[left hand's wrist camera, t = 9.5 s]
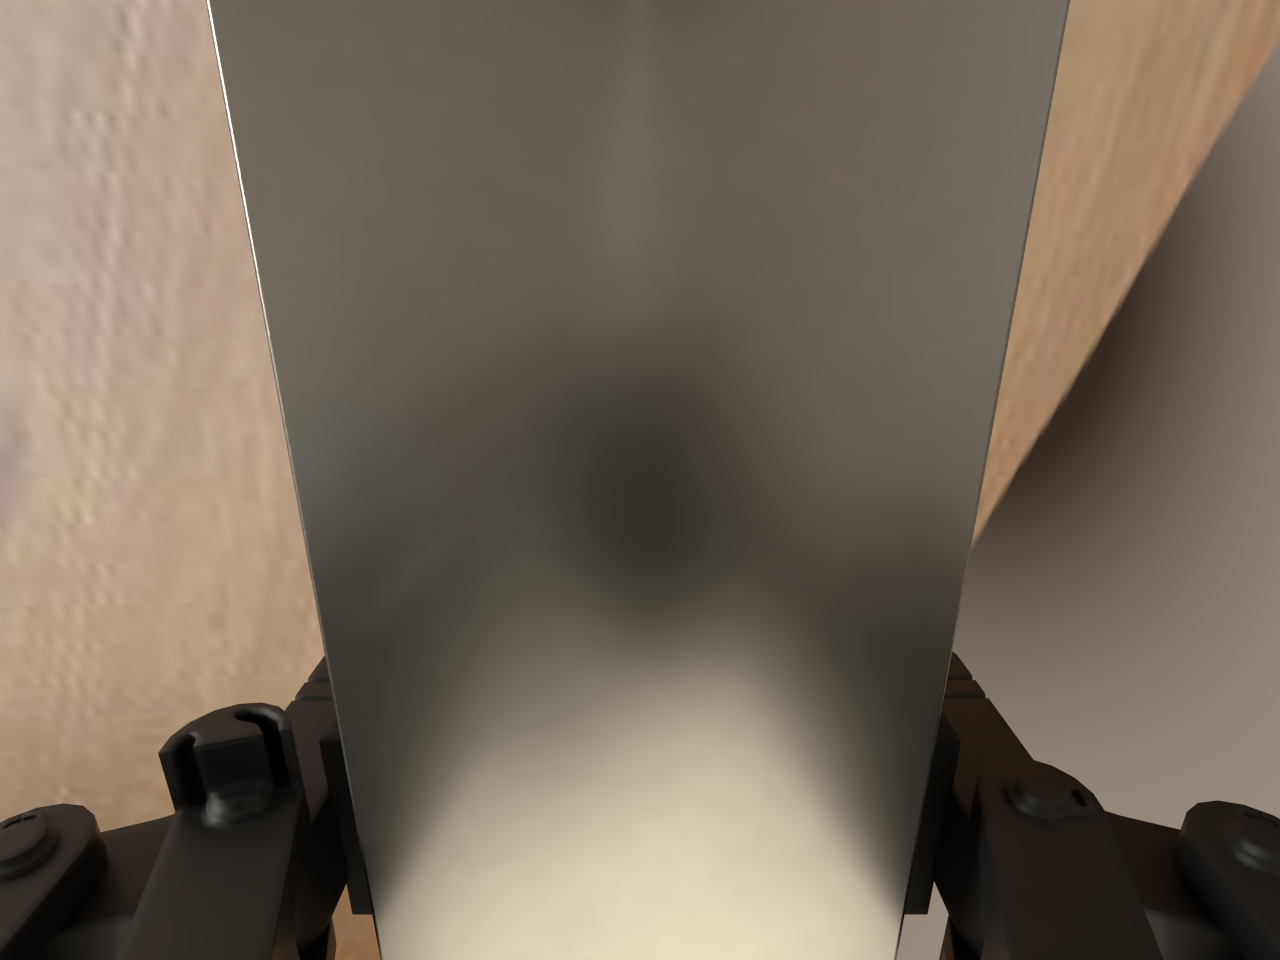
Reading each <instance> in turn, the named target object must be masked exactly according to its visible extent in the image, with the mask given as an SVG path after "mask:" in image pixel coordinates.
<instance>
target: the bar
mask: <svg viewBox="0 0 1280 960" xmlns="http://www.w3.org/2000/svg"><path fill="white" fill-rule="evenodd" d="M206 3H207V9H208V14H209V20H210V25H211V31H212V36H213V42H214V47H215V53H216V58H217V64H218V69H219V75H220V80H221V86H222V91H223V97H224V102H225V108H226V113H227V119H228V124H229V130H230V135H231V141H232V146H233V152H234V157H235V163H236V168H237V174H238V179H239V185H240V190H241V196H242V201H243V207H244V212H245V217H246V223H247V228H248V234H249V239H250V245H251V250H252V256H253V261H254V267H255V272H256V278H257V283H258V289H259V294H260V300H261V305H262V311H263V316H264V322H265V327H266V333H267V338H268V344H269V349H270V355H271V360H272V366H273V371H274V377H275V382H276V388H277V393H278V399H279V404H280V410H281V415H282V421H283V426H284V432H285V437H286V443H287V448H288V454H289V459H290V464H291V470H292V475H293V481H294V486H295V492H296V497H297V503H298V508H299V514H300V519H301V525H302V530H303V536H304V541H305V547H306V552H307V558H308V563H309V569H310V574H311V580H312V585H313V591H314V596H315V602H316V607H317V613H318V618H319V624H320V629H321V635H322V640H323V646H324V651H325V657H326V662H327V668H328V673H329V679H330V684H331V690H332V695H333V701H334V706H335V711H336V717H337V722H338V728H339V733H340V739H341V744H342V750H343V755H344V761H345V766H346V772H347V777H348V783H349V788H350V794H351V799H352V805H353V810H354V816H355V821H356V827H357V832H358V838H359V843H360V849H361V854H362V860H363V865H364V871H365V876H366V882H367V887H368V893H369V898H370V904H371V909H372V915H373V920H374V926H375V931H376V937H377V942H378V948H379V953H380V959H381V960H896V958H897V953H898V947H899V942H900V936H901V930H902V925H903V919H904V914H905V909H906V903H907V898H908V892H909V886H910V881H911V875H912V870H913V864H914V859H915V853H916V848H917V842H918V837H919V831H920V826H921V820H922V815H923V809H924V804H925V798H926V793H927V787H928V782H929V776H930V771H931V765H932V759H933V754H934V748H935V743H936V737H937V732H938V726H939V721H940V715H941V710H942V704H943V699H944V693H945V688H946V682H947V677H948V671H949V666H950V660H951V655H952V649H953V643H954V638H955V632H956V627H957V621H958V616H959V610H960V605H961V599H962V594H963V588H964V583H965V577H966V572H967V566H968V561H969V555H970V550H971V544H972V539H973V533H974V528H975V522H976V517H977V511H978V505H979V500H980V494H981V489H982V483H983V478H984V472H985V467H986V461H987V456H988V450H989V445H990V439H991V434H992V428H993V423H994V417H995V412H996V406H997V401H998V395H999V390H1000V384H1001V378H1002V373H1003V367H1004V362H1005V356H1006V351H1007V345H1008V340H1009V334H1010V329H1011V323H1012V318H1013V312H1014V307H1015V301H1016V296H1017V290H1018V285H1019V279H1020V274H1021V268H1022V263H1023V257H1024V251H1025V246H1026V240H1027V235H1028V229H1029V224H1030V218H1031V213H1032V207H1033V202H1034V196H1035V191H1036V185H1037V180H1038V174H1039V169H1040V163H1041V158H1042V152H1043V147H1044V141H1045V136H1046V130H1047V124H1048V119H1049V113H1050V108H1051V102H1052V97H1053V91H1054V86H1055V80H1056V75H1057V69H1058V64H1059V58H1060V53H1061V47H1062V42H1063V36H1064V31H1065V25H1066V20H1067V14H1068V9H1069V3H1070V0H206Z"/></svg>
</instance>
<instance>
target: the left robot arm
mask: <svg viewBox="0 0 1280 960" xmlns="http://www.w3.org/2000/svg"><path fill="white" fill-rule="evenodd" d="M158 754H159V758H160V761H161V764H162V768H163V771H164V775H165V778H166V781H167V785H168V788H169V791H170V795H171V798H172V802H173V805H174V808H175V814H173V815H170V816H167V817H164V818H160V819H156V820H152V821H148V822H144V823H139V824H135V825H131V826H127V827H123V828H118V829H114V830H110V831H106V832H101V833H100V830H99V827H98V824H97V821H96V819H95V816H94V814H92V813H91V812H90V811H89V810H87V809H86V808H85V807H84V806H79V805H71V804H58V805H52V806H46V807H40V808H36V809H33V810H30V811H27V812H25V813H22V814H19V815H16V816H14V817H11V818H8V819H6V820H4V821H3V822H1V823H0V960H335V952H336V938H335V931H334V925H333V920H332V915H333V912H334V910H335V908H336V906H337V903H338V901H339V899H340V897H341V894H342V892H343V890H344V887H345V885H346V883H347V888H348V893H349V898H350V903H351V908H352V913H353V914H372V909H371V904H370V898H369V893H368V887H367V882H366V876H365V871H364V865H363V860H362V854H361V849H360V843H359V838H358V832H357V827H356V821H355V816H354V810H353V805H352V799H351V794H350V788H349V783H348V777H347V772H346V766H345V761H344V755H343V750H342V744H341V739H340V733H339V728H338V722H337V717H336V711H335V706H334V701H333V695H332V690H331V684H330V679H329V673H328V668H327V662H326V657H325V656H324V657H323V659H322V660H321V661H320V663H319V664H318V665H317V667H316V668H315V670H314V671H313V672H312V674H311V675H310V677H309V678H308V683H304V685H303V686H302V688H301V689H300V690H299V692H298V693H297V695H296V696H295V701H291V703H290V704H289V706H288V707H287V708H286V710H285V711H283V710H282V709H281V708H280V707H278V706H274V705H269V704H265V703H248V704H237V705H234V706H230V707H226V708H223V709H219V710H215V711H213V712H211V713H208V714H206V715H204V716H202V717H200V718H198V719H196V720H194V721H191V722H190V723H188V724H187V725H186V726H184V727H183V728H182V729H180V730H179V731H178V732H176V733H175V734H174V735H172V736H171V737H170V738H169V739H168V741H167V742H166V743H165V745H164V746H163V747H162V749H161V750H160V751H159V753H158ZM934 882H935V884H936V886H937V888H938V891H939V893H940V895H941V897H942V900H943V902H944V904H945V906H946V909H947V911H948V913H949V916H948V921H947V925H946V930H945V935H944V939H943V944H942V949H941V954H940V958H939V960H1280V819H1279V818H1277V817H1275V816H1273V815H1270V814H1267V813H1265V812H1262V811H1259V810H1257V809H1254V808H1251V807H1248V806H1246V805H1241V804H1235V803H1229V802H1224V801H1210V802H1202V803H1197V804H1196V805H1195V806H1194V807H1192V808H1191V809H1190V810H1189V811H1188V812H1187V813H1186V816H1185V819H1184V822H1183V824H1182V827H1181V830H1179V829H1175V828H1170V827H1166V826H1162V825H1158V824H1153V823H1149V822H1145V821H1141V820H1136V819H1132V818H1128V817H1124V816H1120V815H1117V814H1113V813H1110V812H1107V811H1104V809H1103V808H1102V806H1101V805H1100V803H1099V802H1098V800H1097V799H1096V797H1095V795H1094V794H1093V793H1092V792H1091V791H1090V790H1088V789H1087V788H1086V787H1085V786H1084V785H1082V784H1081V783H1080V782H1079V781H1078V780H1077V779H1075V778H1074V777H1072V776H1070V775H1068V774H1066V773H1065V772H1063V771H1061V770H1059V769H1057V768H1055V767H1053V766H1051V765H1048V764H1045V763H1041V762H1038V761H1035V760H1033V759H1032V757H1031V756H1030V755H1029V753H1028V752H1027V750H1026V749H1025V748H1024V746H1023V745H1022V744H1021V742H1020V741H1019V739H1018V738H1017V737H1016V735H1015V734H1014V733H1013V731H1012V730H1011V728H1010V727H1009V726H1008V724H1007V723H1006V722H1005V720H1004V719H1003V718H1002V716H1001V715H1000V713H999V712H998V711H997V709H996V708H995V707H994V705H993V704H992V702H991V701H990V700H989V699H988V698H986V697H985V693H984V691H983V690H982V689H981V687H980V686H979V685H978V683H977V682H976V680H973V679H972V675H971V674H970V672H969V671H968V669H967V668H966V667H965V665H964V664H963V663H962V661H961V660H960V658H959V657H958V656H957V655H956V654H955V653H954V652H952V655H951V660H950V666H949V671H948V677H947V682H946V688H945V693H944V699H943V704H942V710H941V715H940V721H939V726H938V732H937V737H936V743H935V748H934V754H933V759H932V765H931V771H930V776H929V782H928V787H927V793H926V798H925V804H924V809H923V815H922V820H921V826H920V831H919V837H918V842H917V848H916V853H915V859H914V864H913V870H912V875H911V881H910V886H909V892H908V898H907V903H906V909H905V914H928V908H929V903H930V898H931V893H932V888H933V883H934Z"/></svg>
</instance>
